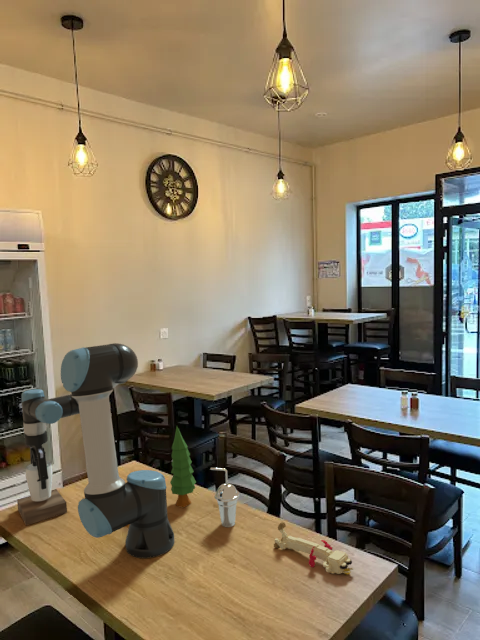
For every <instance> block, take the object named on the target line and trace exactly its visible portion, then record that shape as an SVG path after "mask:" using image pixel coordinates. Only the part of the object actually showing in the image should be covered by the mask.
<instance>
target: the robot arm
mask: <svg viewBox="0 0 480 640" xmlns="http://www.w3.org/2000/svg"><path fill="white" fill-rule="evenodd" d="M138 367H139V360H138V357H137V355H136V353H135V351H133V349H132V348H131V347H129V346H128V345H125V344H123V343H115V342H114V343H109V344H101V345H94V346H86V347H84V346H82V347H79V348H75V349H72V350H70V351H68V352H67V353H66V354H65V355H64V357H63V359H62V361H61V364H60V381H61V384H62V386H63V388H64V389H65V391H67V392H70V393H71V394H70V393H69V394H66V395H61V396H57V397H52V398H48V399H47V398H45V397H46V396H45V392H44V390H43V389H39V388H36V389H35V388H34V389H33V388H32V389H27V390H25V391H23V392H22V393H21V408H22V419H23V422H22V423H23V432H24V443H25V446H28V447H29V453H30V455H29V456H30V459H29V460H30V464H32V463H33V466H34V467H35V466H37V470H38V476H39V479H38V480H37V482H39V494H40V498H43V497H47V496H48V487H47V479H48V473H47V465H46V461H47V459H46V451H45V448H44V447H43V445H44V444H46V443H47V442H48V440H49V439H48V438H49V437H48V431H47V429H48V426H47V424H48V425H52V424H56V423H57V422H58V421H60V419H63V418H68V417H70V416H75V415H79V418H80V426H81V427H80V428H81V435H82V442H83V450H84V458H85V465H86V474H87V479H88V480H87V481H88V483H87V484H86V486H85V487H84V489H83V494H84V498H82V499H80V500H79V501H78V505H77V512H78V516H79V519H80V523H82V526H83V528H84V529H85V531H86V532H87V533H88V534H89V535H90V536H92V537H94V538H96V539H97V538H99V539H100V538H103V537H105V536H108V535H111V534H112V533H114V532H117V531H119V530H121V529H123V528H125V527H127V526H128V525H129V527H128V530H127V534H126V538H125V551H126V552H127V553H128V555H129V556H132V557H134V558H137V559H150V558H155V557H160V556H162V555H164V554H166V553H168V552H169V551H170V550H171V549H173V547H174V546H175V533H174V531H173V528H172V525H171V523H170V521H169V518H168V503H167V502H168V501H167V485H166V484H167V483H166V478H165V475H164V474H162V473H161V472H159V471H157V470H150V469H141V470H134V471H132V472H130V473H128V475H127V476H126V481H125V480H124V479H123V478H122V477H120V475H119V467H118V459H117V451H116V444H115V437H114V435H115V434H114V428H113V427H114V426H113V420H112V413H111V412H112V411H111V404H110V395H111V394H112V392H113V391H114V389H115V388H116V387H117V386H118V385H121V384H126V382H128V381H129V380H130V379H131V378H133V377H134V375H136V373H137V370H138ZM43 476H44V477H43Z"/></svg>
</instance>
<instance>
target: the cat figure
mask: <svg viewBox="0 0 480 640" xmlns="http://www.w3.org/2000/svg"><path fill="white" fill-rule="evenodd" d="M285 528H286V523H285V521H281V522H280V523H279V524H278V525H277V530H278V532H279V533H280V534H281V538H280V539H279V538H277V537H276V538H274V540H273V541H274V543H273V548H275V549H278V548H280V549H282V550H286V549H287V550H288V549H289V550H294V551H297V552H302V553H305V554H308V555H309V559H308V565H309V566H310V568H312V569H313V568H315V567H316V566H315V565H316V560H317V559H319V560H322V561H323V562H322V566H323V567H322V568H325V571H326V572H327V573H331V574H337V575H341V574H345V575H350V574H351V571H352V570H353V571H354V568H353V567H349V565H350V566H351V565H352V564H353V561H352V559H351V558H349V554H347V552H345V551H341V550H338V549H336V550H334V551H333V547H332V546H331V545H330V544H329V543H328V541H326V540H325V539H324V540H323V539H321V542H322V543H323V544H324V546H323V545H321V544H319V543H316V542H314V541H311V540H306V539H304V538H302V537H295V536H292V535H289V534H288V533H287V532H286V530H285Z"/></svg>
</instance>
